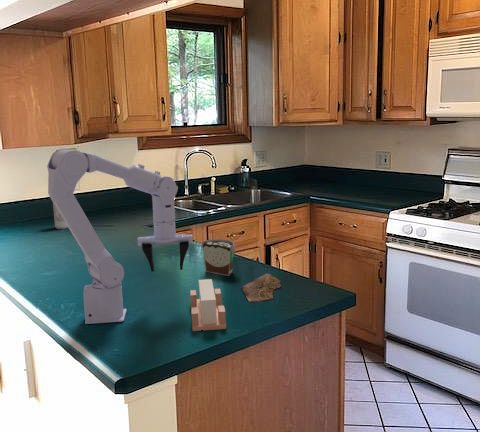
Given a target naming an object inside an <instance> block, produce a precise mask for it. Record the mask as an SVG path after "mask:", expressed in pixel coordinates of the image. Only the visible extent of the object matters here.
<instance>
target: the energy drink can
mask: <svg viewBox="0 0 480 432" xmlns="http://www.w3.org/2000/svg"><path fill="white" fill-rule="evenodd" d="M52 208H53V209H52V210H53V219H54V226H55V228H56V229H57V230H65V229H67V228H68V226H67V224H66V223H65V221H64V219H63V218H62V216H61V214H60V213H59V211H58V209H57V208H56V206H55V204H54V203H53V202H52ZM68 229H69V228H68Z"/></svg>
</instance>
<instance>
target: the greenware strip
mask: <svg viewBox="0 0 480 432" xmlns="http://www.w3.org/2000/svg"><path fill="white" fill-rule="evenodd" d="M214 289H215V288H214V284H213V279H212V278H207V279H198V291H199V294H198V295H199V296H198V297H199V298H198V299H200V309H201V318H202V324H214V323H217V317H216V298H215V291H214Z"/></svg>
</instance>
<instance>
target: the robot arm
mask: <svg viewBox="0 0 480 432" xmlns="http://www.w3.org/2000/svg"><path fill="white" fill-rule="evenodd" d="M46 167H47V171H48V179H47V183H48V184H47V185H48V186H47V188H48V189H47V191H48V193H47V194H48V197H49V198H50V200H51V201H52V204H53V203H54V204H55V206H56V208H57V209H58V211H59V213H60V214H61V216H62V218H63V219H64V221H65V223H66V224H67V226H68V229H69V231H70V232H71V234H72V236H73V238H74V239H75V241H76V242H77V245H78V247H80V249H81V251H82V253H83V255H84V260H85V261H86V264H87V271H88V273H89V275H90V276H91V277H92V280H91V281H92V282H91V284H87V285H84V288H83V293H82V294H83V295H82V296H83V307H84V319H85V321H84V323H85V325H88V324H92V325H93V324H104V323H105V324H107V323H120V322H124V321H125V318H126V313H127V308H124V302H123V301H124V300H123V286H122V282H123V280H124V277H125V269H124V267H123V265H122V264H120V263H119V262H117V261H116V260H115V259H114V257H113V256H112V254H111V253H110V252H109V251H108V250H107V249H106V248H105V246H104V244H103V243H102V241H101V240H100V237H99V236H98V234H97V233H96V230H95V229H94V227H93V225H92V224H91V222H90V221H89V218H88V217H87V216H86V213H85V212H84V210H83V208H82V207H81V205H80V203H79V202H78V200H77V198H76V196H75V195H74V192H75V189H76V187H77V184H78V183H79V181H80V180H81V179H82V178H83V176H84V175H85V174H86V173H89V174H90V173H94V172H96V171H98V172H100V173H103V174H106V175H109V176H112V177H116V178H119V179H122V180H123V181H124V183H125V185H126V187H129V188H132V189H135V190H137V191H140V192H143V193H147V194H150V195H151V201H152V219H153V235H148V236H139V237H137V246H138V247H141V249H142V251H143V253H144V255H145V258H147V261H148V264H149V267H150V271H151V272H154V271H155V263H154V254H153V250H154V249H153V245H166V244H167V245H168V244H171V245H172V244H179V271H183V266H184V261H185V258H186V255H187V251H188V250H189V247H190V244H193V243H194V241H193V234H177V232H176V231H177V230H176V210H175V208H176V207H175V196H176V195H177V194H178V193H177V192H178V189H179V186H178V185H177V183H176V181H175V180H174V179H173V178H172V177H170V176H166V175H161V172H160V171H157V170H155V171H152V170H150V169H148V168H145V165H143V164H140V163H138V164H133V165H131V166H128V167H127V166H125V165H122V164H119V163H118V162H115V161H113V160H110V159H108V158H105V157H102V156H100V155H97V154H93V153H88V152H84V151H83V152H82V151H80V150H74V149H73V150H71V149H68V148H59V149H56V150H55V151H54V152H53V153H52V154H51V156H50V158H49V160H48V163H47V165H46Z"/></svg>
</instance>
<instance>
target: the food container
mask: <svg viewBox="0 0 480 432" xmlns="http://www.w3.org/2000/svg"><path fill="white" fill-rule="evenodd" d="M200 247H201V248H202V250H203V251H202V252H203V253H202V254H203V260H204V268H205V272H206V273H212V274H216V275H221V276H228V277H230V276H232V274H233V266H234V252H235V251H236V246H235V243H234V241H232V240H229V239H222V238H221V239H219V238H218V239H217V238H216V239H215V238H214V239H208V240H206V239H205V240H203V241H201V246H200Z"/></svg>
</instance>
